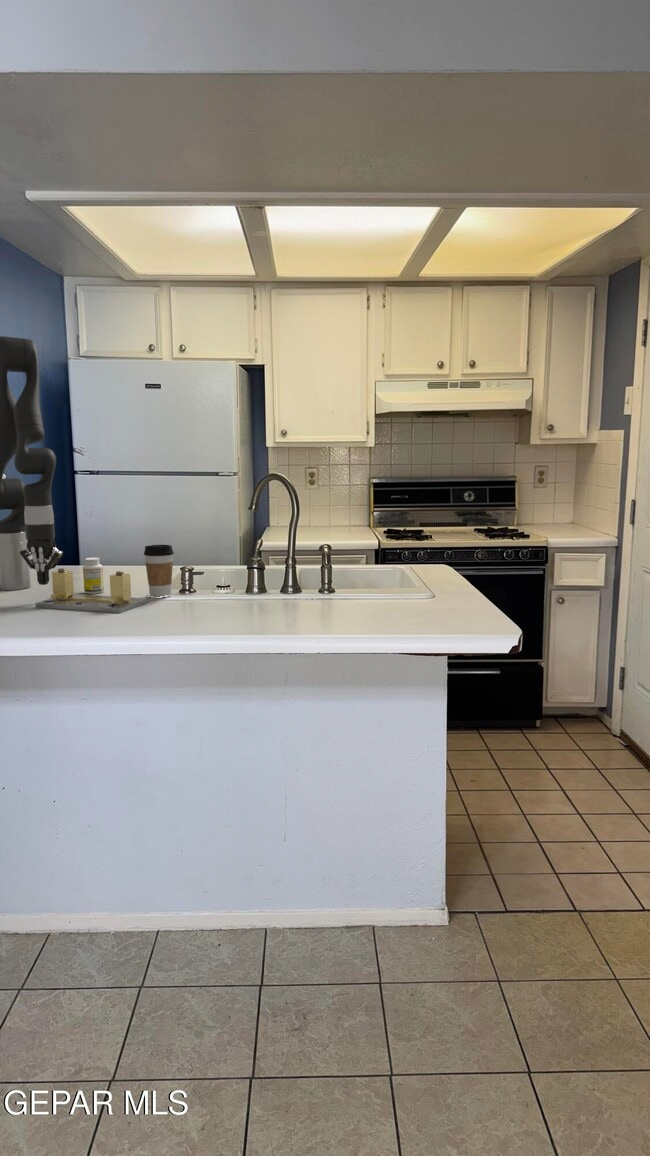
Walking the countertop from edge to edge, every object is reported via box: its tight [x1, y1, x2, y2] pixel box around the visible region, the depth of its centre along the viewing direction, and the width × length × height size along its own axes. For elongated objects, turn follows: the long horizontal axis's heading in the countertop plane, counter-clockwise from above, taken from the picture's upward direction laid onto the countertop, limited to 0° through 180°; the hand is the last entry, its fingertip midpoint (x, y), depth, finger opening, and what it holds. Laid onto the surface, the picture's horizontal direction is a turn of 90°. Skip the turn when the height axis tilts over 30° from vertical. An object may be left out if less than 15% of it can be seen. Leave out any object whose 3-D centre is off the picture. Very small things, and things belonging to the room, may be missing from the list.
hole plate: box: [34, 593, 149, 614], centre depth 210 cm, size 26×14×1 cm, turn 73°
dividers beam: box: [63, 570, 133, 605], centre depth 208 cm, size 24×6×8 cm, turn 73°
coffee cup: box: [143, 544, 175, 597], centre depth 221 cm, size 8×8×15 cm
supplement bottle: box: [82, 557, 105, 595], centre depth 227 cm, size 6×6×10 cm
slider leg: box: [50, 567, 75, 601], centre depth 211 cm, size 4×6×8 cm, turn 163°
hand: (43, 584), depth 214 cm, fingers closed
